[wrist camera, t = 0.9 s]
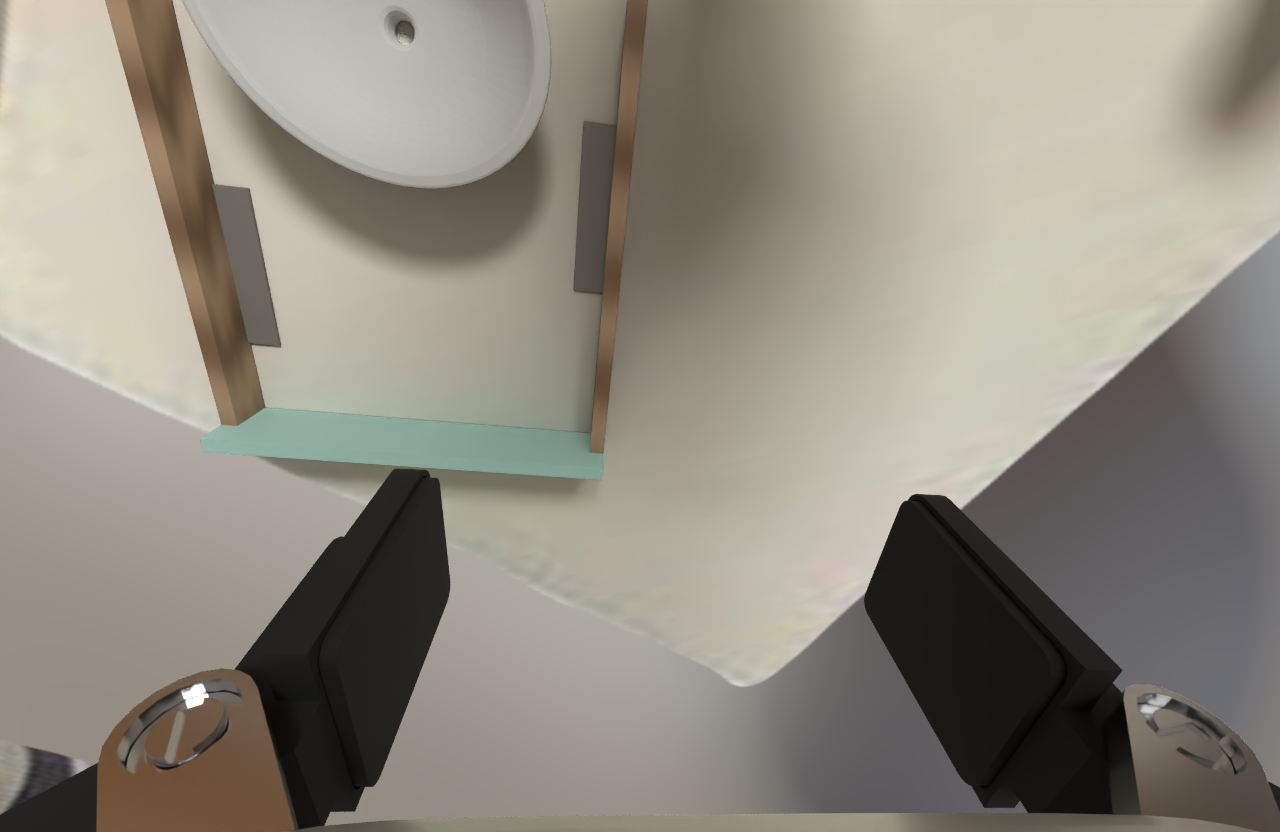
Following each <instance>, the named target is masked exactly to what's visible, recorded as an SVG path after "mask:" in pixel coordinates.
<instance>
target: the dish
mask: <svg viewBox="0 0 1280 832" xmlns="http://www.w3.org/2000/svg"><path fill="white" fill-rule="evenodd" d="M182 2H183V4H184V6H185V8H186V10H187V12H188V14H189V16H190V17H191V19H192V21H193V23H194V25H195V27H196V28H197V30H198V32H199V33H200V35H201V36H202V38H203V40H204V41H205V43H206V44H207V46H208V47H209V49H210V50H211V52H212V53H213V54H214V56H215V57H216V59H217V60H218V61H219V63H220V64H221V66H222V67H223V68H224V69H225V70H226V72H227V73H228V74H229V75H230V77H231V78H232V79H233V80H234V81H235V83H236V84H237V85H238V86H239V87H240V88H241V89H242V90H243V91H244V92H245V94H246V95H247V96H248V97H249V98H250V99H251V100H252V101H253V102H254V103H255V104H256V105H257V106H258V107H259V108H260V109H261V110H262V111H263V112H265V113H266V114H267V115H268V116H269V117H270V118H271V119H272V120H274V121H275V122H276V123H277V124H278V125H279V126H281V127H282V128H283V129H284V130H286V131H287V132H288V133H290V134H291V135H292V136H294V137H295V138H296V139H298V140H299V141H300V142H302V143H303V144H305V145H307V146H308V147H310V148H311V149H313V150H314V151H316V152H317V153H319V154H321V155H323V156H324V157H326V158H328V159H330V160H331V161H333V162H335V163H337V164H339V165H341V166H343V167H345V168H348V169H350V170H352V171H354V172H357V173H359V174H362V175H364V176H367V177H370V178H373V179H376V180H379V181H383V182H386V183H391V184H395V185H400V186H406V187H414V188H430V189H436V188H450V187H455V186H461V185H465V184H469V183H472V182H475V181H478V180H480V179H483V178H485V177H487V176H490V175H491V174H493V173H495V172H496V171H498V170H500V169H501V168H503V167H504V166H505V165H506V164H508V163H509V162H510V161H511V160H513V159H514V158H515V156H516V155H517V154H518V153H519V152H520V151H521V150H522V149H523V148H524V146H525V145H526V144H527V142H528V141H529V140H530V138H531V136H532V135H533V133H534V131H535V129H536V127H537V126H538V123H539V121H540V118H541V116H542V113H543V111H544V107H545V104H546V100H547V96H548V90H549V85H550V76H551V42H550V33H549V25H548V20H547V15H546V10H545V5H544V2H543V0H182ZM400 21H407V22H409V23H410V24H411V25H412V26H413V28H414V39H413V41H412V42H411V43H410V44H409V45H403V44H401V43H400V42H399V41H398V39H397V37H396V33H395V29H396V25H397V24H398V23H399V22H400Z"/></svg>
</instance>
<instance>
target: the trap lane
mask: <svg viewBox="0 0 1280 832" xmlns="http://www.w3.org/2000/svg"><path fill="white" fill-rule="evenodd" d="M105 2H106V6H107V9H108V13H109V17H110V20H111V24H112V28H113V31H114V35H115V38H116V42H117V46H118V49H119V53H120V57H121V60H122V64H123V68H124V71H125V75H126V79H127V82H128V86H129V89H130V93H131V97H132V100H133V104H134V108H135V111H136V115H137V119H138V122H139V126H140V129H141V133H142V137H143V140H144V144H145V148H146V151H147V155H148V159H149V162H150V166H151V169H152V173H153V177H154V180H155V184H156V188H157V191H158V195H159V199H160V202H161V206H162V210H163V213H164V217H165V220H166V224H167V228H168V231H169V235H170V239H171V242H172V246H173V250H174V253H175V257H176V260H177V264H178V268H179V271H180V275H181V279H182V282H183V286H184V290H185V293H186V297H187V300H188V304H189V308H190V311H191V315H192V319H193V322H194V326H195V330H196V333H197V337H198V340H199V344H200V348H201V351H202V355H203V359H204V362H205V366H206V370H207V373H208V377H209V381H210V384H211V388H212V391H213V395H214V399H215V402H216V406H217V410H218V413H219V417H220V421H221V424H222V425H221V426H219V427H217V428H216V429H214V430H213V431H211V432H210V433H208V434H206V435H205V436H203V437H202V438H200V442H201V445H202V448H203V451H204V452H208V453H222V454H236V455H251V456H265V457H279V458H294V459H308V460H322V461H336V462H351V463H365V464H379V465H394V466H408V467H422V468H436V469H451V470H465V471H479V472H493V473H508V474H522V475H536V476H551V477H565V478H579V479H593V480H602V472H603V452H604V442H605V432H606V421H607V411H608V401H609V391H610V380H611V370H612V360H613V350H614V340H615V329H616V319H617V309H618V299H619V289H620V278H621V268H622V258H623V248H624V238H625V227H626V217H627V207H628V197H629V187H630V176H631V166H632V156H633V146H634V135H635V125H636V115H637V105H638V95H639V84H640V74H641V64H642V54H643V44H644V33H645V23H646V13H647V3H648V0H628V2H627V13H626V25H625V37H624V49H623V61H622V73H621V85H620V97H619V109H618V120H617V126H614V125H607V124H600V123H593V122H586V121H584V123H583V140H582V157H581V174H580V191H579V208H578V225H577V242H576V259H575V276H574V290H579V291H588V292H598V293H603V299H602V311H601V323H600V334H599V346H598V358H597V370H596V382H595V394H594V406H593V418H592V429H591V433H581V432H568V431H555V430H543V429H530V428H517V427H505V426H492V425H479V424H467V423H454V422H441V421H429V420H416V419H403V418H391V417H378V416H365V415H353V414H340V413H328V412H315V411H302V410H290V409H277V408H265V405H264V401H263V396H262V392H261V387H260V383H259V379H258V374H257V370H256V366H255V361H254V357H253V353H252V348H251V344H250V343H253V344H264V345H275V346H280V345H281V344H280V339H279V334H278V329H277V324H276V319H275V314H274V309H273V304H272V299H271V294H270V289H269V284H268V279H267V274H266V269H265V264H264V259H263V255H262V250H261V245H260V240H259V235H258V230H257V225H256V220H255V215H254V210H253V205H252V200H251V195H250V190H249V188H240V187H232V186H224V185H215V184H214V182H213V178H212V173H211V169H210V165H209V160H208V156H207V152H206V147H205V143H204V138H203V134H202V130H201V125H200V121H199V117H198V112H197V108H196V103H195V99H194V95H193V90H192V86H191V82H190V77H189V73H188V69H187V64H186V60H185V55H184V51H183V47H182V42H181V38H180V34H179V29H178V25H177V20H176V16H175V12H174V7H173V3H172V0H105Z"/></svg>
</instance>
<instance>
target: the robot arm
mask: <svg viewBox="0 0 1280 832" xmlns="http://www.w3.org/2000/svg"><path fill="white" fill-rule="evenodd" d="M449 592H450V575H449V565H448V556H447V547H446V538H445V528H444V519H443V510H442V500H441V491H440V483H439V480H438V479H437V478H430V474H429V472H428V471H427V470H416V469H394V470H393V471H392V472H391V473H390V475H389V476H388V478H387V479H386V480H385V482H384V483H383V484H382V486H381V487H380V488H379V490H378V491H377V493H376V494H375V495H374V497H373V498H372V499H371V501H370V502H369V503H368V505H367V506H366V508H365V509H364V510H363V512H362V513H361V514H360V516H359V517H358V519H357V520H356V521H355V523H354V524H353V525H352V527H351V528H350V529H349V531H348V532H347V534H346V535H345V536H344V537H339V538H336V539H334V540H333V541H332V542H331V543H330V544H329V545H328V547H327V548H326V549H325V551H324V552H323V553H322V555H321V556H320V557H319V559H318V560H317V561H316V562H315V564H314V565H313V567H312V568H311V569H310V570H309V572H308V573H307V575H306V576H305V577H304V579H303V580H302V581H301V582H300V584H299V585H298V586H297V588H296V589H295V590H294V592H293V593H292V594H291V596H290V597H289V598H288V599H287V601H286V602H285V604H284V605H283V606H282V608H281V609H280V610H279V611H278V613H277V614H276V615H275V617H274V618H273V619H272V621H271V622H270V623H269V625H268V626H267V627H266V629H265V630H264V631H263V633H262V634H261V635H260V637H259V638H258V639H257V641H256V642H255V643H254V644H253V646H252V647H251V649H250V650H249V651H248V652H247V654H246V655H245V656H244V658H243V659H242V661H241V662H240V663H239V664H238V666H237V667H236V668H235V670H232V669H215V670H209V671H203V672H199V673H196V674H193V675H190V676H187V677H185V678H182V679H179V680H177V681H175V682H173V683H171V684H169V685H167V686H166V687H164V688H162V689H160V690H158V691H156V692H155V693H153V694H152V695H150V696H149V697H148V698H146V699H145V700H144V701H142V702H141V703H139V704H138V705H137V706H136V707H134V708H133V709H132V710H131V711H130V712H129V713H128V714H127V715H126V716H125V717H124V718H123V719H122V720H121V721H120V722H119V723H118V724H117V725H116V726H115V727H114V729H113V730H112V732H111V733H110V735H109V737H108V738H107V740H106V741H105V743H104V745H103V746H102V749H101V754H100V757H99V761H98V763H97V764H95V765H93V766H91V767H89V768H87V769H85V770H83V771H82V772H80V773H78V774H76V775H74V776H72V777H70V778H68V779H67V780H65V781H63V782H61V783H59V784H57V785H55V786H53V787H52V788H50V789H48V790H46V791H44V792H42V793H40V794H38V795H36V796H35V797H33V798H31V799H29V800H27V801H25V802H23V803H21V804H20V805H18V806H16V807H14V808H12V809H10V810H8V811H6V812H4V813H3V814H1V815H0V832H1280V788H1279V787H1278V786H1276V785H1274V784H1272V783H1270V782H1268V780H1267V778H1266V775H1265V773H1264V770H1263V768H1262V765H1261V764H1260V762H1259V760H1258V759H1257V757H1256V755H1255V753H1254V752H1253V750H1252V749H1251V748H1250V747H1249V746H1248V745H1247V744H1246V743H1245V742H1244V741H1243V739H1242V738H1241V737H1240V736H1239V735H1238V734H1237V733H1236V732H1235V731H1233V730H1232V729H1231V728H1230V727H1229V726H1227V725H1226V724H1225V723H1224V722H1223V721H1222V720H1220V719H1219V718H1217V717H1216V716H1215V715H1213V714H1212V713H1210V712H1209V711H1207V710H1206V709H1204V708H1203V707H1201V706H1200V705H1198V704H1196V703H1194V702H1192V701H1191V700H1189V699H1187V698H1185V697H1183V696H1181V695H1179V694H1177V693H1174V692H1172V691H1169V690H1166V689H1164V688H1161V687H1157V686H1152V685H1148V684H1134V685H1131V686H1129V687H1128V688H1127V689H1125V690H1124V691H1123V693H1121V692H1120V690H1119V689H1118V688H1117V687H1116V686H1115V685H1114V684H1113V682H1114V680H1115V679H1116V678H1117V677H1118V675H1119V674H1120V673H1121V671H1122V669H1121V668H1120V667H1119V666H1118V665H1117V664H1116V663H1115V662H1114V661H1113V660H1112V659H1111V658H1110V657H1109V656H1108V655H1107V654H1105V652H1104V651H1102V649H1101V648H1100V647H1098V645H1097V644H1095V642H1093V641H1092V640H1091V639H1090V638H1089V637H1088V636H1087V635H1086V634H1085V633H1084V632H1083V631H1082V630H1081V629H1080V628H1079V627H1078V626H1077V625H1076V624H1075V623H1074V622H1073V621H1072V620H1071V619H1070V618H1069V617H1068V616H1067V615H1066V614H1065V613H1064V612H1063V611H1062V610H1061V609H1060V608H1059V607H1058V606H1057V605H1056V604H1055V603H1054V602H1053V601H1052V600H1051V599H1050V598H1049V597H1048V596H1047V595H1046V594H1045V593H1044V592H1043V591H1042V590H1041V589H1040V588H1039V587H1038V586H1037V585H1036V584H1035V583H1034V582H1033V581H1032V580H1031V579H1030V578H1029V577H1028V576H1026V574H1025V573H1024V572H1023V571H1022V570H1021V569H1020V568H1018V567H1017V565H1016V564H1015V563H1013V562H1012V561H1011V560H1010V559H1009V558H1008V557H1007V556H1006V555H1005V554H1004V553H1003V552H1002V551H1001V550H1000V549H999V548H998V547H997V546H996V545H995V544H994V543H993V542H992V541H991V540H990V539H989V538H988V537H987V536H986V535H985V534H984V533H983V532H982V531H981V530H980V529H979V528H978V527H977V526H976V525H975V524H974V523H973V522H972V521H971V520H970V519H969V518H968V517H967V516H966V515H965V514H964V513H963V512H962V511H961V510H960V509H959V508H958V507H957V506H956V505H955V504H954V503H953V502H952V501H951V500H950V499H948V498H947V497H946V496H942V495H924V494H915V495H912V496H911V497H910V498H909V499H908V501H904V502H903V503H902V504H901V506H900V508H899V511H898V513H897V516H896V518H895V521H894V523H893V526H892V528H891V531H890V533H889V536H888V538H887V541H886V543H885V546H884V548H883V551H882V553H881V556H880V558H879V561H878V563H877V566H876V568H875V571H874V573H873V576H872V578H871V581H870V583H869V586H868V588H867V591H866V594H865V598H864V602H865V608H866V612H867V614H868V616H869V617H870V619H871V621H872V623H873V625H874V626H875V628H876V630H877V632H878V633H879V635H880V637H881V638H882V640H883V642H884V644H885V646H886V647H887V649H888V651H889V653H890V654H891V656H892V658H893V660H894V661H895V663H896V665H897V667H898V668H899V670H900V672H901V674H902V676H903V677H904V679H905V681H906V683H907V684H908V686H909V688H910V690H911V691H912V693H913V695H914V697H915V698H916V700H917V702H918V704H919V705H920V707H921V709H922V711H923V712H924V714H925V716H926V718H927V720H928V721H929V723H930V725H931V727H932V728H933V730H934V732H935V733H936V735H937V737H938V739H939V741H940V742H941V744H942V746H943V747H944V749H945V751H946V753H947V755H948V756H949V758H950V760H951V762H952V763H953V765H954V767H955V768H956V771H957V772H958V774H959V775H960V777H961V778H962V779H963V780H964V781H965V782H966V783H967V784H969V785H971V786H972V787H973V789H974V791H975V792H976V794H977V796H978V798H979V800H980V801H981V803H982V804H983V807H984V808H1014V807H1015V806H1016V805H1017V804H1018V802H1019V801H1021V802H1022V804H1023V806H1024V807H1025V809H1026V810H1027V812H1028V813H870V814H869V813H864V814H862V813H860V814H858V813H856V814H714V815H712V814H710V815H628V816H627V815H623V816H550V817H549V816H541V817H493V818H492V817H489V818H458V819H426V820H395V821H377V822H366V823H365V822H364V823H353V824H341V825H329V826H324V825H325V823H326V820H327V818H328V816H329V814H330V812H340V811H341V812H342V811H344V812H346V811H349V812H350V811H355V810H356V807H357V805H358V803H359V800H360V797H361V795H362V793H363V790H364V788H365V787H373V786H374V785H375V784H376V783H377V781H378V780H379V777H380V775H381V773H382V770H383V768H384V765H385V762H386V760H387V757H388V754H389V752H390V749H391V747H392V744H393V742H394V739H395V736H396V734H397V731H398V729H399V726H400V723H401V721H402V718H403V715H404V713H405V710H406V708H407V705H408V703H409V700H410V697H411V695H412V692H413V690H414V687H415V684H416V682H417V679H418V677H419V674H420V671H421V669H422V666H423V664H424V661H425V658H426V656H427V653H428V650H429V648H430V645H431V643H432V640H433V638H434V635H435V632H436V630H437V627H438V625H439V622H440V619H441V617H442V614H443V611H444V609H445V606H446V604H447V600H448V597H449Z"/></svg>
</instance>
